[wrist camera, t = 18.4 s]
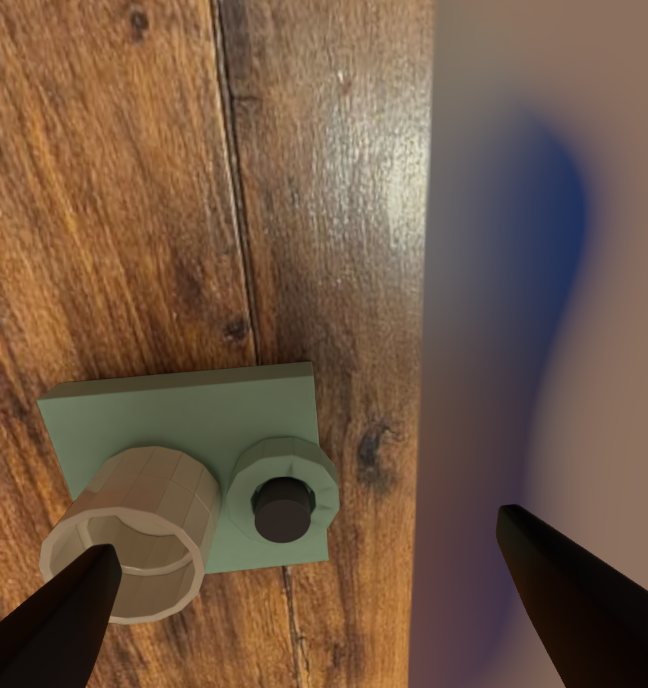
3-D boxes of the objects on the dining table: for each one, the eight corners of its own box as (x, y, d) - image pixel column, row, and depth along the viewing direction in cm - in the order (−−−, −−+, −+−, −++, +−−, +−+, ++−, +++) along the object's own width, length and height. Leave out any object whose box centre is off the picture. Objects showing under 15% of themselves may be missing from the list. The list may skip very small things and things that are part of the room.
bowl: (212, 434, 19) (187, 499, 14) (231, 532, 21) (215, 614, 16) (81, 446, 18) (15, 517, 14) (114, 545, 20) (66, 632, 16)
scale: (326, 359, 20) (332, 388, 16) (338, 533, 24) (344, 585, 20) (59, 382, 19) (10, 417, 16) (118, 556, 23) (88, 614, 20)
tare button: (307, 474, 18) (308, 496, 17) (311, 515, 19) (312, 540, 18) (254, 479, 18) (250, 502, 17) (261, 521, 19) (257, 546, 18)
